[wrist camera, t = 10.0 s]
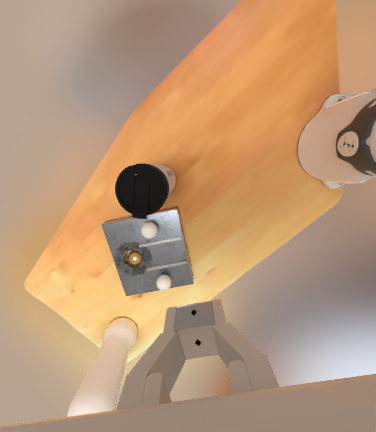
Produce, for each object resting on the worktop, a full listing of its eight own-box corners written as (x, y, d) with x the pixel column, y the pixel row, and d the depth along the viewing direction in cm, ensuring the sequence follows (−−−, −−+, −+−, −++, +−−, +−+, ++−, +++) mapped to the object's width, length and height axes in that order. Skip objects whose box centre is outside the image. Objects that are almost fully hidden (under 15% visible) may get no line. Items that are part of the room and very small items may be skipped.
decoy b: (156, 219, 40) (154, 223, 37) (160, 233, 41) (158, 239, 37) (141, 222, 40) (137, 227, 37) (145, 236, 41) (141, 242, 38)
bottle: (140, 319, 50) (77, 529, 21) (135, 341, 52) (70, 562, 23) (111, 313, 49) (4, 521, 20) (106, 336, 51) (3, 556, 22)
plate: (177, 206, 42) (176, 210, 39) (193, 277, 47) (193, 285, 43) (106, 221, 43) (99, 225, 39) (129, 289, 47) (125, 298, 44)
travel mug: (147, 194, 41) (113, 217, 22) (148, 163, 39) (112, 160, 20) (175, 196, 41) (165, 221, 22) (177, 166, 40) (168, 165, 20)
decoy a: (170, 270, 43) (168, 279, 40) (173, 282, 44) (172, 292, 41) (155, 273, 43) (153, 281, 40) (159, 285, 44) (157, 295, 41)
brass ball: (140, 245, 45) (142, 250, 42) (144, 258, 46) (146, 264, 42) (126, 250, 44) (126, 255, 40) (130, 263, 45) (130, 269, 41)
